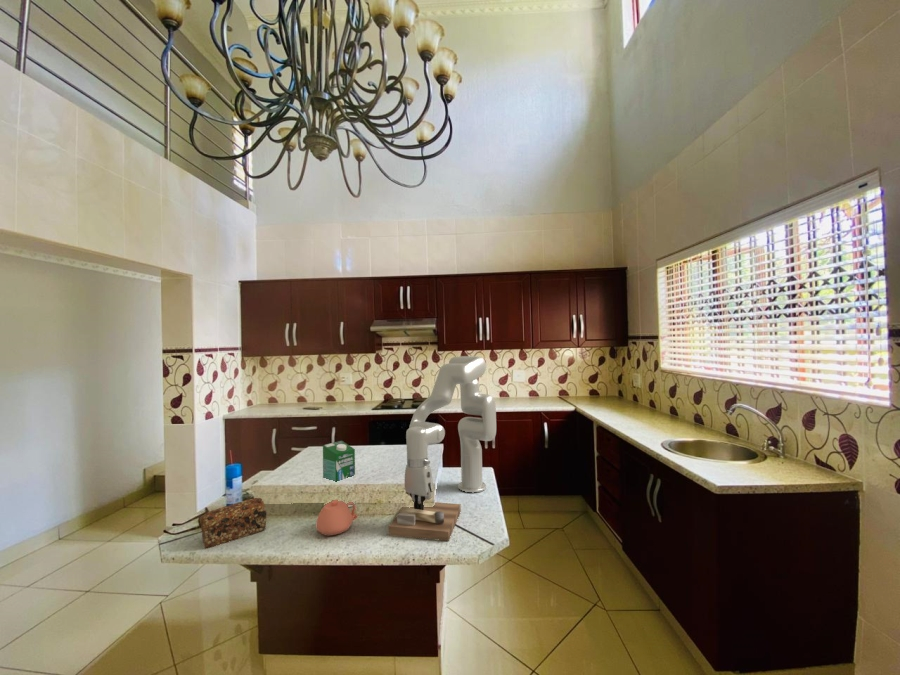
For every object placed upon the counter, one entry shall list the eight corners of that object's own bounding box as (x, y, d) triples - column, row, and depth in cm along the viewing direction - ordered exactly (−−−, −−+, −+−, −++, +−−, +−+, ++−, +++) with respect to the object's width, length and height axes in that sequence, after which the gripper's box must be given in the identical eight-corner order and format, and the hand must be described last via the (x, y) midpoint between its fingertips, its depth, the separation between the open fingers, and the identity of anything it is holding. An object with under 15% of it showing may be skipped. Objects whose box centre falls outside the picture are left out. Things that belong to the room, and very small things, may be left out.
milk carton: (336, 513, 137) (335, 448, 138) (323, 507, 143) (322, 445, 144) (355, 505, 144) (354, 443, 145) (342, 499, 150) (341, 440, 151)
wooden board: (409, 507, 141) (408, 492, 141) (460, 512, 136) (460, 496, 136) (388, 535, 120) (388, 517, 121) (448, 541, 116) (448, 522, 116)
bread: (261, 520, 133) (261, 493, 133) (267, 531, 125) (267, 502, 125) (200, 537, 121) (200, 508, 122) (203, 551, 113) (203, 519, 113)
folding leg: (445, 520, 123) (445, 512, 123) (441, 524, 120) (441, 516, 120) (402, 513, 129) (402, 505, 129) (398, 517, 126) (398, 509, 126)
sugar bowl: (314, 526, 127) (314, 497, 128) (353, 517, 134) (353, 490, 134) (318, 542, 116) (318, 511, 117) (361, 532, 123) (360, 502, 123)
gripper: (440, 461, 128) (441, 513, 127) (407, 456, 136) (409, 504, 135) (428, 468, 121) (429, 522, 121) (394, 461, 129) (396, 512, 129)
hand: (418, 512), depth 128 cm, fingers closed
